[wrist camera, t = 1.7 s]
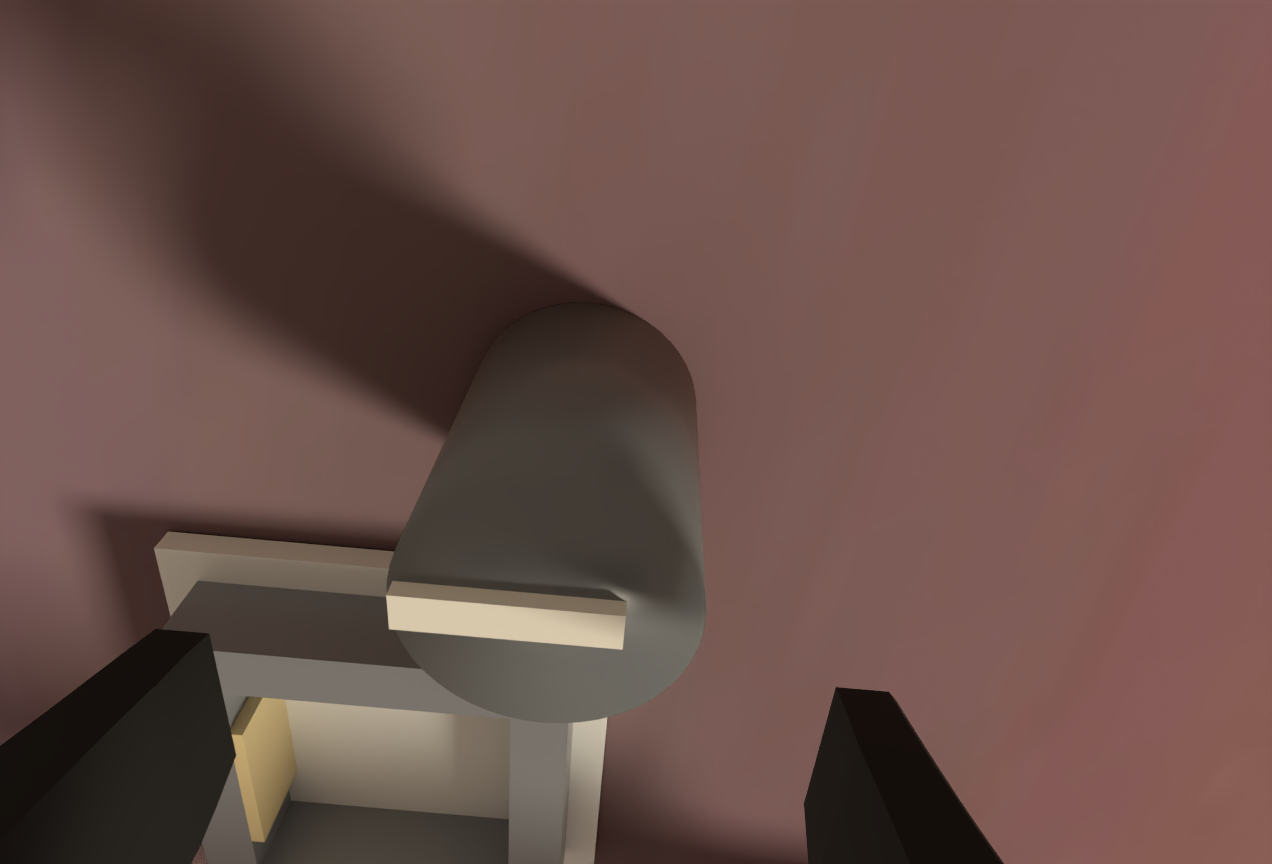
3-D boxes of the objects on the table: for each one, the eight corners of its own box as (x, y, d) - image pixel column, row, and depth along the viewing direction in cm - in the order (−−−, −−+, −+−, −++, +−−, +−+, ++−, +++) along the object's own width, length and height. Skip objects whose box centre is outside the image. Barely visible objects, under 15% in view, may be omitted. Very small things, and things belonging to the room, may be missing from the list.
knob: (709, 313, 16) (726, 506, 11) (683, 507, 18) (687, 751, 13) (472, 292, 16) (368, 474, 11) (475, 489, 18) (390, 725, 13)
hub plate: (620, 571, 19) (613, 655, 17) (594, 853, 24) (586, 948, 22) (167, 531, 19) (99, 610, 17) (235, 822, 24) (190, 914, 22)
